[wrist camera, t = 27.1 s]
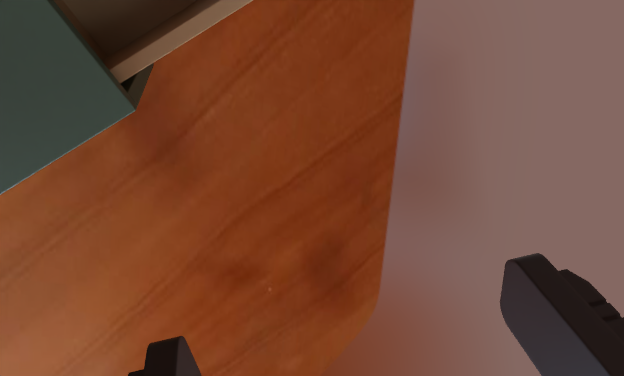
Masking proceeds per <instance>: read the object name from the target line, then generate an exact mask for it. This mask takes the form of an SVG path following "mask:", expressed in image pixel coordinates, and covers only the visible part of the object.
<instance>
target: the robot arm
mask: <svg viewBox="0 0 624 376" xmlns="http://www.w3.org/2000/svg"><path fill="white" fill-rule="evenodd" d="M500 306H501V311H502V315H503V318H504V320H505V322H506V324H507V326H508V327H509V329H510V330H511V332H512V333H513V334H514V336H515V337H516V339H517V340H518V342H519V343H520V345H521V346H522V347H523V349H524V351H525V352H526V353H527V355H528V356H529V358H530V359H531V361H532V362H533V364H534V365H535V366H536V368H537V369H538V371H539V372H540V374H541V375H542V376H624V317H623V318H622V317H621V316H620V314H619V312H618V311H617V310H616V309H615V308H614V307H613V306H612V305H611V304H610V303H607V302H606V299H605V298H604V297H603V296H602V295H601V294H600V293H599V292H598V291H597V290H596V289H595V288H594V287H593V286H592V285H591V284H590V283H589V282H588V281H586V280H584V279H582V278H581V277H579V276H577V275H576V274H574V273H572V272H570V271H569V270H567V269H566V270H561V271H558V270H557V269H556V268H555V267H554V266H553V265H552V264H551V263H550V262H549V261H548V260H547V259H546V258H545V257H544V256H543V255H541V254H539V253H536V254H532V255H527V256H523V257H519V258H515V259H511V260H508V261H507V262H506V264H505V271H504V277H503V285H502V292H501V299H500ZM128 376H201V373H200V371H199V368H198V366H197V364H196V362H195V360H194V357H193V355H192V353H191V351H190V349H189V346H188V344H187V342H186V340H185V338H184V337H183V336H179V337H175V338H171V339H166V340H162V341H158V342H154V343H150V344H149V346H148V348H147V353H146V360H145V366H144V369H143V370H139V371H135V372H131V373H129V374H128Z"/></svg>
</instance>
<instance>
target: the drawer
mask: <svg viewBox="0 0 624 376" xmlns="http://www.w3.org/2000/svg"><path fill="white" fill-rule="evenodd" d="M54 1H55V3H56V4H57V5H58V6H59V8H60V9H61V10H62V11H63V13H64V14H65V15H66V16H67V18H68V19H69V20H70V22H71V23H72V24H73V25H74V27H75V28H76V29H77V30H78V32H79V33H80V34H81V35H82V37H83V38H84V39H85V40H86V42H87V43H88V44H89V45H90V47H91V48H92V49H93V50H94V52H95V53H96V54H97V55H98V57H99V58H100V59H101V60H102V62H103V63H104V64H105V65H106V67H107V68H108V69H109V70H110V72H111V73H112V74H113V75H114V77H115V78H116V79H117V80H118V82H119V83H122V82H123V81H125V80H126V79H128V78H130V77H131V76H133V75H134V74H136V73H138V72H139V71H141V70H142V69H144V68H146V67H147V66H149V65H150V64H152V63H154V62H155V61H157V60H158V59H160V58H162V57H163V56H165V55H166V54H168V53H169V52H171V51H173V50H174V49H176V48H177V47H179V46H181V45H182V44H184V43H185V42H187V41H189V40H190V39H192V38H193V37H195V36H197V35H198V34H200V33H201V32H203V31H205V30H206V29H208V28H209V27H211V26H213V25H214V24H216V23H217V22H219V21H221V20H222V19H224V18H225V17H227V16H229V15H230V14H232V13H233V12H235V11H237V10H238V9H240V8H241V7H243V6H245V5H246V4H248V3H249V2H251V1H253V0H54Z"/></svg>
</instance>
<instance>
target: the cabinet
mask: <svg viewBox="0 0 624 376" xmlns="http://www.w3.org/2000/svg"><path fill="white" fill-rule="evenodd" d="M152 68H153V63H152V64H150V65H149V66H147V67H146V68H144V69H142V70H141V71H139V72H138V73H136V74H134V75H133V76H131V77H130V78H128V79H126V80H125V81H123V82H122V83H119V82H118V80H117V79H116V78H115V77H114V75H113V74H112V73H111V72H110V70H109V69H108V68H107V67H106V65H105V64H104V63H103V62H102V60H101V59H100V58H99V57H98V55H97V54H96V53H95V52H94V50H93V49H92V48H91V47H90V45H89V44H88V43H87V42H86V40H85V39H84V38H83V37H82V35H81V34H80V33H79V32H78V30H77V29H76V28H75V27H74V25H73V24H72V23H71V22H70V20H69V19H68V18H67V16H66V15H65V14H64V13H63V11H62V10H61V9H60V8H59V6H58V5H57V4H56V3H55V1H54V0H0V195H1V194H2V193H4V192H5V191H7V190H9V189H10V188H12V187H13V186H15V185H17V184H18V183H20V182H21V181H23V180H25V179H26V178H28V177H30V176H31V175H33V174H34V173H36V172H38V171H39V170H41V169H42V168H44V167H46V166H47V165H49V164H50V163H52V162H54V161H55V160H57V159H58V158H60V157H62V156H63V155H65V154H67V153H68V152H70V151H71V150H73V149H75V148H76V147H78V146H79V145H81V144H83V143H84V142H86V141H87V140H89V139H91V138H92V137H94V136H95V135H97V134H99V133H100V132H102V131H104V130H105V129H107V128H108V127H110V126H112V125H113V124H115V123H116V122H118V121H120V120H121V119H123V118H124V117H126V116H128V115H129V114H131V113H133V112H134V111H136V109H137V106H138V103H139V101H140V98H141V96H142V93H143V91H144V88H145V86H146V83H147V80H148V78H149V75H150V73H151V70H152Z"/></svg>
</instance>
